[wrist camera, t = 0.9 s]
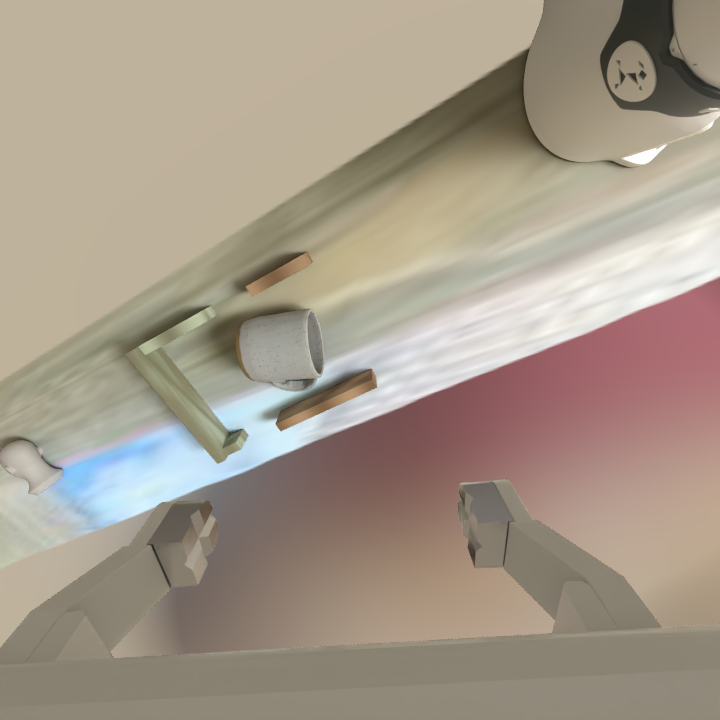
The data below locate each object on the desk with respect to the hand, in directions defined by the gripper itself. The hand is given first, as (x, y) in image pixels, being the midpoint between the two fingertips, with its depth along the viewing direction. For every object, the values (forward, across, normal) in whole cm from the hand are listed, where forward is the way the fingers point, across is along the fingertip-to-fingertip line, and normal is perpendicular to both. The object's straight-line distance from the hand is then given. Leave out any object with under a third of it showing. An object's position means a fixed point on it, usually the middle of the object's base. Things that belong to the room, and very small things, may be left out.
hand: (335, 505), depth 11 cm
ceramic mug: (+30, +7, +5) cm, 32 cm away
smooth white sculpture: (+31, +46, +19) cm, 59 cm away
